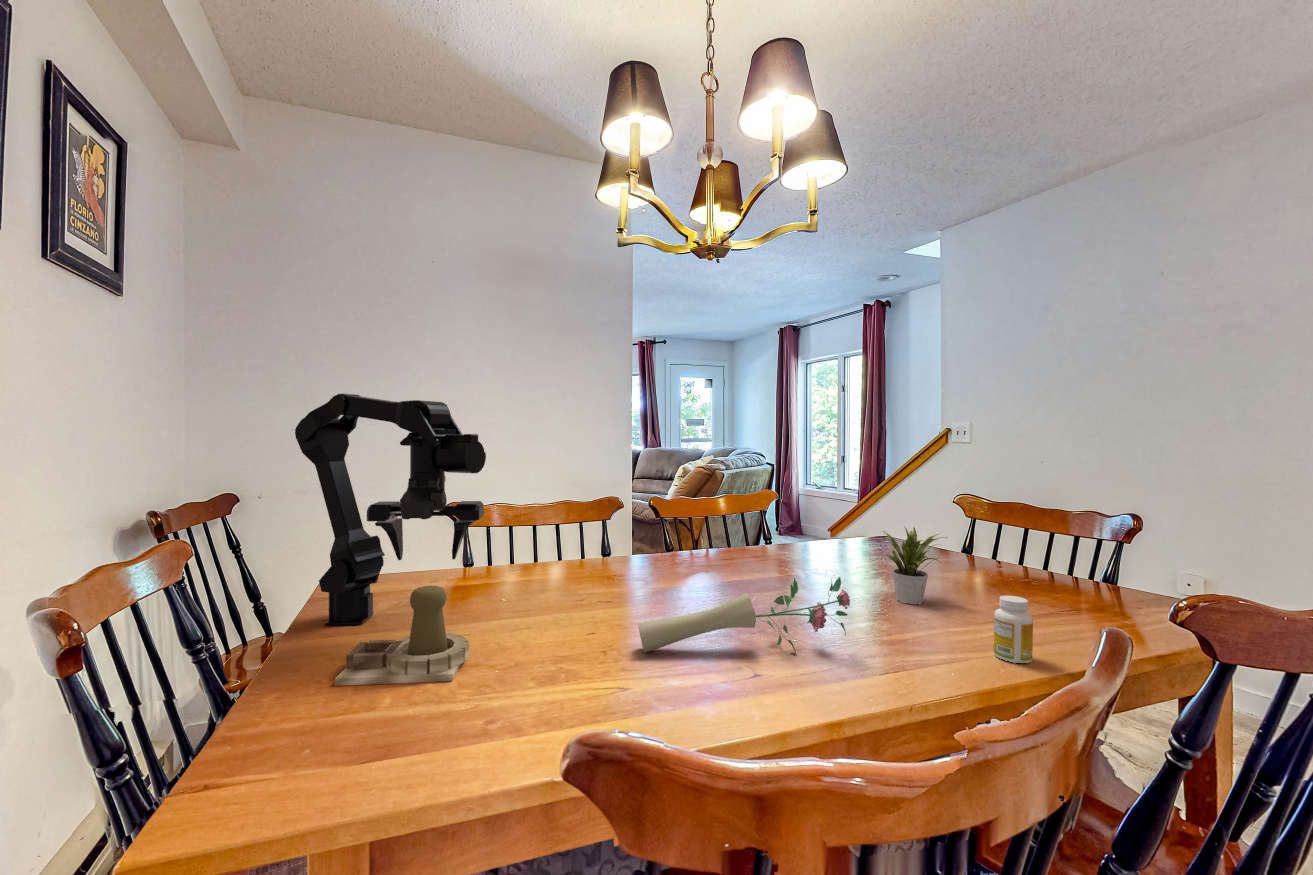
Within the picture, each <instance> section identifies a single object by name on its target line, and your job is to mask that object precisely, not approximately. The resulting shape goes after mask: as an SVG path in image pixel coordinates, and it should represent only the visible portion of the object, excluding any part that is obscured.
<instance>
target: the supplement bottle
mask: <svg viewBox="0 0 1313 875" xmlns="http://www.w3.org/2000/svg"><path fill="white" fill-rule="evenodd" d="M998 602H999V603H998V604H999V607H1000V608H997V609H996V610H995V611H994V614H993V615H994V616H993V620H994V621H993V623H994V624H993V625H994V626H993V655H994V657H996V658H997V657H998V658H997V659H999V658H1000V659H999V660H1001V659H1003V660H1005V661H1004V662H1006V661H1009V662H1008V663H1010V662H1013V663H1012V664H1016V663H1027V664H1030V663H1032V662H1033V643H1034V642H1033V640H1034V637H1033V636H1034V634H1033V633H1034V619H1033V618H1034V617H1033V616H1032V615H1031V613H1029V612H1027V611H1028V610H1029V600H1028V599H1026V598H1024V597H1021V596H1016V595H1001V596H999V601H998ZM1003 660H1002V661H1003ZM1029 662H1030V663H1029Z"/></svg>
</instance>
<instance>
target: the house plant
mask: <svg viewBox="0 0 1313 875" xmlns="http://www.w3.org/2000/svg"><path fill="white" fill-rule="evenodd" d="M904 528H905V529H904V530H905V532H906V537H907V538H906V539H905V541H904V540H903V542H901V548H900V546H899V545H898V543H897V541H896V539H894V538H893V537H892V535H890V534H889V533H887V532H886V531H885V530H884V531H883V530H881V532H883V533H884V534H885V535H886V536H887V537H888V538H887V537H885V536H884V538H885V539H886V540H888V542H889V543H890V545H891V546H893V548H891V550H892V555H891V554H885V555H883V558H889V559H890V560H891V561H893V562H894V563H895V565H896V567H897V568H895V569H892V571H891V572H892V573H891V574H892V578H893V585H894V591H895V598H896V599H897V600H899V601H901V602H905V603H910V604H919V603H922V602H924V598H925V591H926V586H927V581H928V576H929V575H928V572H926V571H922V570H923V569H924V568H925V567H927V566H928V565H929V564H931V563H932V562H933V561H938V562H939V563H941V561H940V560H938V559H939V557H937V558H935V557H928V556H926V555H927V553H928V552H930V549H931V548H932V547H935V546H941V544H939V543H938V544H937V543H936V544H933V545H931V546H929V545H930V544H932V543H933V542H935V541H937V540H940V539H948V537H947V536H945V537H943V536H942V537H937V536H939V535H940V533H937V534H934V535H931V536H929V537H927V538H926V539H925V540H923V539H920V540H918V534H917V530H916V528H915V526H913V527H912V528H913V530H910V531H909V530H908V529H907V528H906V526H905V525H904ZM908 531H909V532H908ZM935 537H936V538H935ZM921 541H922V543H921ZM928 546H929V547H928ZM926 548H927V549H926ZM925 549H926V550H925ZM896 552H897V553H896ZM928 560H931V561H929V563H927V564H926V565H925V566H923V567H922V568H921V569H920V570H919V567H920V566H921V564H923V563H924V562H926V561H928ZM897 600H896V601H897ZM899 601H898V602H899ZM901 602H900V603H901ZM910 604H909V605H910ZM922 604H923V603H922ZM919 605H920V604H919Z"/></svg>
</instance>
